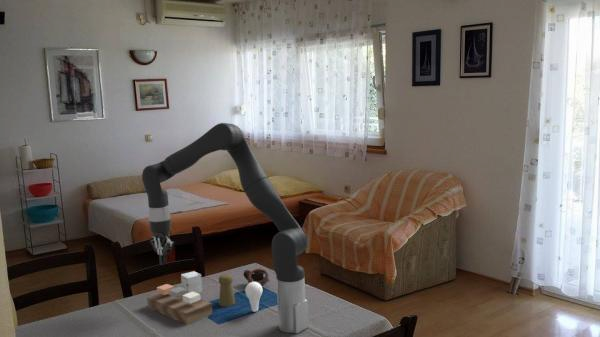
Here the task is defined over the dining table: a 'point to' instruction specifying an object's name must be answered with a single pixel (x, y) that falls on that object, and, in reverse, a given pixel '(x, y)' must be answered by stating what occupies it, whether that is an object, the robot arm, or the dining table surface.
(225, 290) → the olive rounded waisted cylinder
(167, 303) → the key panel
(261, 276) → the pottery mug
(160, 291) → the terracotta key
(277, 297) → the robot arm
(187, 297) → the off-white key
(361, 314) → the dining table surface
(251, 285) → the lightbulb
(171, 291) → the grey key
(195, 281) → the skincare box
